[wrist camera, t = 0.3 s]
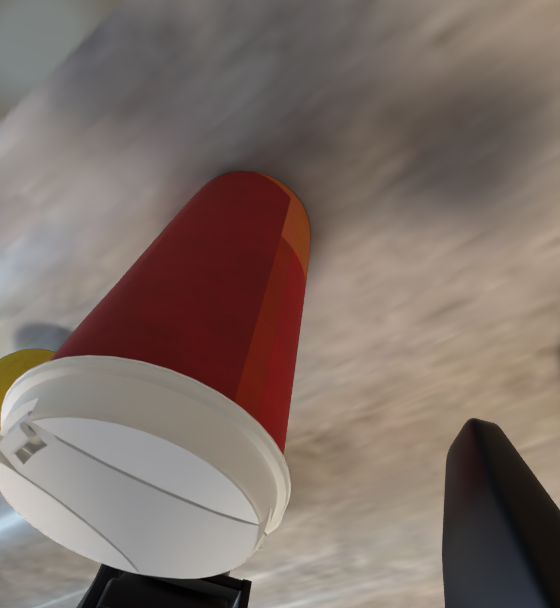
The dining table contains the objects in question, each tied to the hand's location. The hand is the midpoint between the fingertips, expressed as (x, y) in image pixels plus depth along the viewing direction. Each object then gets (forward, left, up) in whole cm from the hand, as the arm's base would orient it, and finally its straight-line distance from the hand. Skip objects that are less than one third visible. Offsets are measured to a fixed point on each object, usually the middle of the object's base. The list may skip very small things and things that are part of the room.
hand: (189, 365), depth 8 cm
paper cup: (-6, +1, -15) cm, 16 cm away
